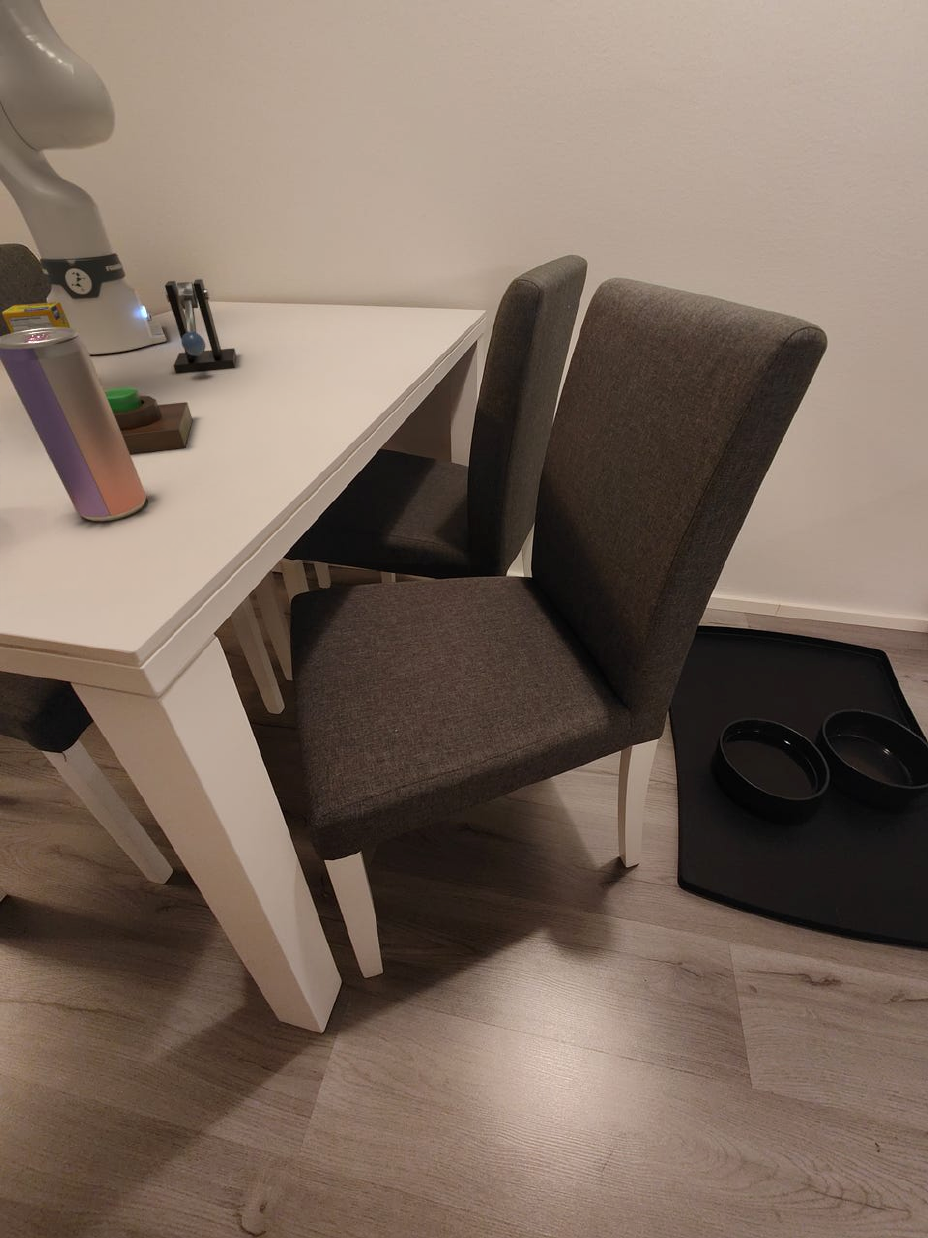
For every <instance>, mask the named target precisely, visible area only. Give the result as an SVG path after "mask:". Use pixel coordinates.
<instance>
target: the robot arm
mask: <svg viewBox="0 0 928 1238" xmlns="http://www.w3.org/2000/svg"><path fill="white" fill-rule="evenodd" d="M115 128H116V112H115V107H114V102H113V99H112V97H111V95H110V92H109V90H108V88H107V86H106V84H105V82H104V81H103V79H102V77H100V75H99V74H98V73H97V71H96V70H95V69H94V68H93V67H92V66H91V65H90V64H89V63H88V62H87V61H86V60H85V59H84V58H82V57H81V56H80V55H78V54H77V53H76V52H75V51H74V50H72V49H71V48H70V47H69V46H68V44H66V42H65V41H64V40H63V39H62V38H61V36H60V34H59V33H58V32H57V31H56V29H55V28H54V26H53V24H52V23H51V21H50V19H49V17H48V15H47V13H46V11H45V9H44V6H43V5H42V2H41V0H0V182H1V183H2V184H3V186H4V187H5V188H6V190H7V191H8V192H9V194H10V196H11V197H12V199H13V200H14V202H15V203H16V206H17V207H18V209H19V211H20V213H21V215H22V217H23V219H24V222H25V224H26V226H27V228H28V230H29V232H30V234H31V238H32V239H33V241H34V243H35V246H36V248H37V250H38V253H39V256H40V259H39V263H40V265H41V269H42V272H43V274H44V276H45V277H46V280H47V283H49V284H50V285H51V290H50V292H49V294H48V295H47V297H46V303H52V302H60V304H61V306H62V309H63V311H64V313H65V316H66V318H67V320H68V323H69V325H70V327H71V328H72V329H75V330H76V331H77V332H78V336H79V338H80V339H81V340H82V341H83V343H84V344H85V345H86V348H87V350H88V353H89V355H105V354H112V353H113V354H115V353H121V352H126V351H132V350H136V349H140V348H143V347H148V346H151V345H154V344H155V345H156V344H160V343H165V342H167V341H168V340H167V337H166V335H165V333H164V331H163V328H162V326H161V323H160V322H152V320H153V319H152V316H151V314H150V313H149V312H147V311H146V308H145V306H144V305H143V304H142V301H141V298H140V295H139V292H138V291H136V290H135V288H134V287H132V285H131V284H130V283H129V281H128V280H127V279H126V272H125V270H124V267H123V264H122V261H121V259H120V258H119V255H118V254H117V253H116V252H115V251H114V248H113V245H112V242H111V239H110V237H109V234H108V230H107V228H106V225H105V222H104V220H103V216H102V213H101V210H100V207H99V205H98V204H97V202H96V201H95V199H94V198H93V196H91V195H90V194H89V192H87V191H86V190H85V189H84V188H82V187H81V186H79V185H77V184H75V183H73V182H71V181H69V180H68V179H65V178H63V177H62V176H61V175H60V174H59V173H58V172H56V170H55V169H54V168H53V167H52V165H51V164H50V162H49V160H48V158H47V156H46V155H45V152H44V151H69V150H86V149H88V148H92V147H97V146H98V145H101V144H105V143H107V142H109V141H110V140H111V139H112V137H113V135H114V132H115Z"/></svg>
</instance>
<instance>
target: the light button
mask: <svg viewBox="0 0 928 1238" xmlns="http://www.w3.org/2000/svg"><path fill="white" fill-rule="evenodd" d="M104 392H105V394H106V397H107V399H108V402H109V404H110V407H111V409H112V412H117V411H126V410H130V409H134V408H137V407H139V406H141V405H143V404H142V402H141V399H140V396H141V395H140V393H139V390H138V389H137V388H134V387H118V388H111V389H108V390H104Z"/></svg>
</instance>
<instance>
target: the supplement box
mask: <svg viewBox="0 0 928 1238" xmlns="http://www.w3.org/2000/svg"><path fill="white" fill-rule="evenodd" d="M2 316H3V319H4V321H5V323H6V325H7V327H8V329H9V331H10V333H15V332H20V331H25V330H32V329H40V328H55V327H64V328H71V327H70V325H69V323H68V320H67V318H66V316H65V313H64V311H63V309H62V306H61V304H60V302H52V303H47V302H42V303H41V302H40V303H29V304H28V303H27V304H15V305H14V304H13V305H12V306H10V307H9V308H7V309H5V310H4V311H2Z"/></svg>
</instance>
